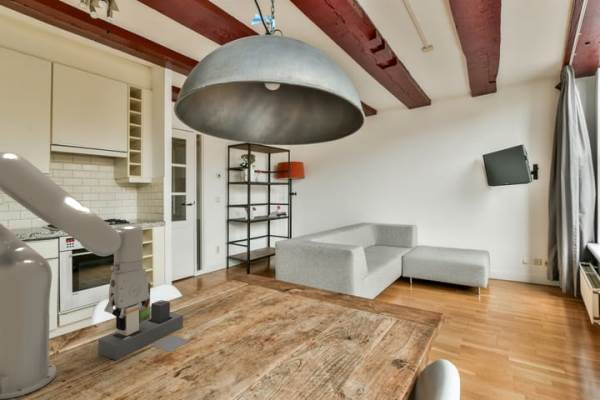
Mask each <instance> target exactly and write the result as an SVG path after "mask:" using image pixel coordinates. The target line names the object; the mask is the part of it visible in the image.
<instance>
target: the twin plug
mask: <svg viewBox="0 0 600 400" xmlns="http://www.w3.org/2000/svg"><path fill="white" fill-rule="evenodd" d="M170 309H171V302H170V301H167V300H164V299H160V300H158V301H154V302H153V303H152V302H151V303H150V310H151V311H150V314H151V315H150V318H151V322H153V323H157V324H161V323H163V322H166V321H168V320H170V312H171V310H170Z"/></svg>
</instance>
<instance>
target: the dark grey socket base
mask: <svg viewBox="0 0 600 400" xmlns="http://www.w3.org/2000/svg"><path fill="white" fill-rule="evenodd" d="M183 324H184V316H183V314H180V313H176V312H171V311H170V320H168V321H166V322H163V323H161V324H157V323H153V322H151V317H150V318H148V319H146V320H144V321H141V322H140V324H139V330H138V331H136V332H134V333H132V334H130V335H127V336H126V335H123V334H120V333H118V330H117V331H115V332H113V333H111V334H108V335H105V336H103V337H101V338H99V339H98V340H97V341H98V349H97V353H98V355H101V356H103V357H106V358H109V359H111V360H114V361H118V360H120V359H123V358H125V357H126V356H128V355H130V354H132V353H134V352H136V351H138V350H140V349H142V348H144V347H147V346H148V345H150V344H152V343H154V342H156V341H158V340H160V339H162V338H165V337H166V336H168V335H170V334H172V333H174V332H176V331H178V330H179V329H182V328H183V327H184V325H183Z"/></svg>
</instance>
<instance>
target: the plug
mask: <svg viewBox="0 0 600 400" xmlns="http://www.w3.org/2000/svg"><path fill="white" fill-rule="evenodd" d="M119 312H120V311H119ZM124 317H126V329H125V330H124V331H122V330H119V329H117V331H118V333H120V334H123V335H126V336H127V335H130V334H132V333H134V332H136V331H138V330H139V304H134V305H131V306H128V307H126V308H125V312H124Z"/></svg>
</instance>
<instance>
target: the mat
mask: <svg viewBox="0 0 600 400" xmlns="http://www.w3.org/2000/svg"><path fill="white" fill-rule="evenodd" d="M190 341H191V339H188V338H184V337H182V336H177V335H174V334H171V335H169V336H167V337H166V338H165V337H164V338H163V339H161V340H159V341H158V342H156V343H153V344H151V347H153V348H157V349H161V350H164V351H165V352H169V353H170V352H173V351H175V350H177V349H179V347H181V346H183V345H185V344H187V343H188V342H190Z"/></svg>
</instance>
